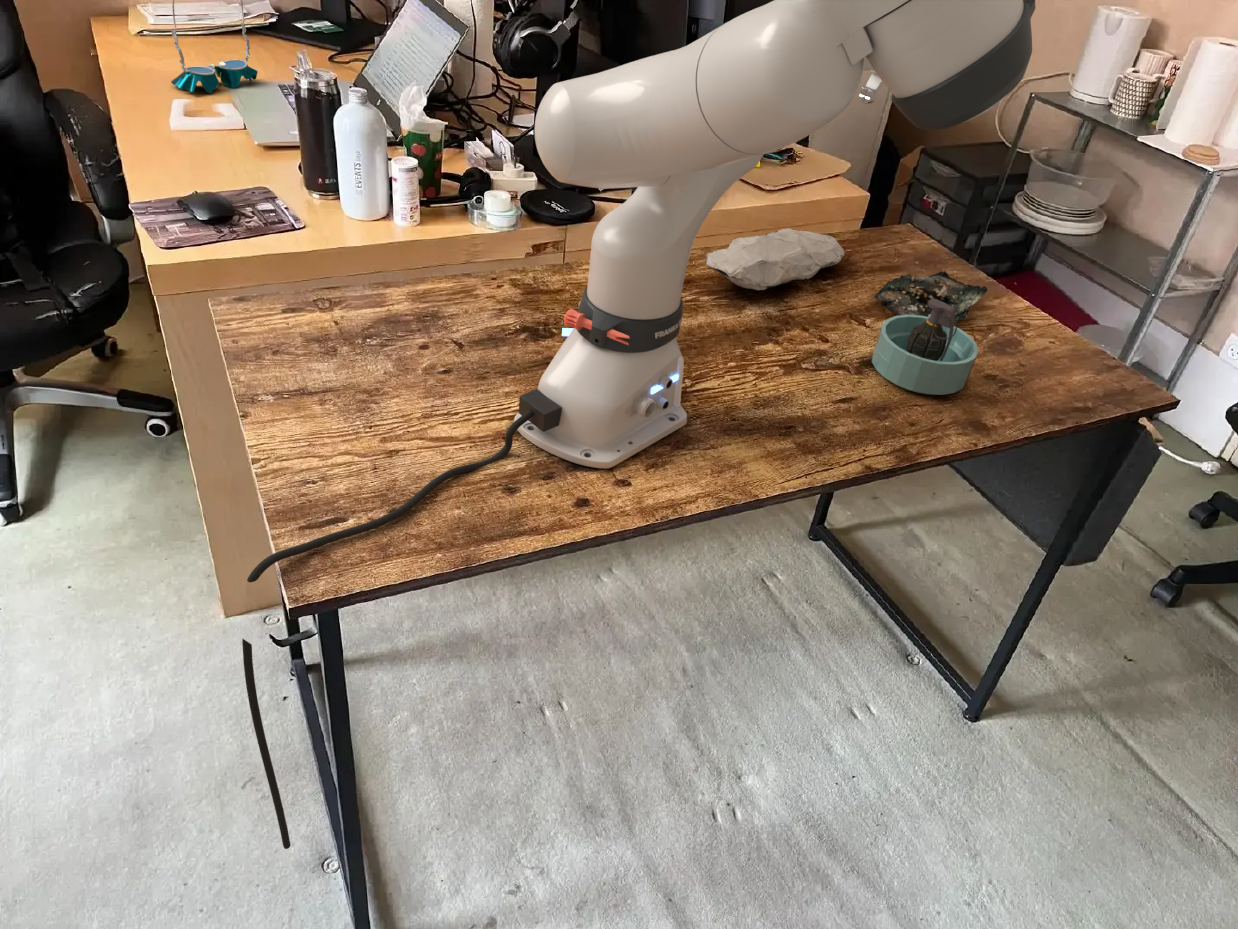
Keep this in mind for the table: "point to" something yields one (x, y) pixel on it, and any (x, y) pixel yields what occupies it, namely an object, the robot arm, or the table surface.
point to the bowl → (918, 370)
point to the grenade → (933, 332)
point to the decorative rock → (929, 294)
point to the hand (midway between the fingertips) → (842, 105)
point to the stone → (775, 258)
